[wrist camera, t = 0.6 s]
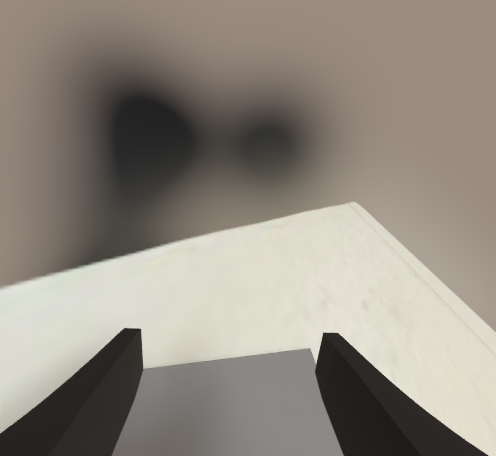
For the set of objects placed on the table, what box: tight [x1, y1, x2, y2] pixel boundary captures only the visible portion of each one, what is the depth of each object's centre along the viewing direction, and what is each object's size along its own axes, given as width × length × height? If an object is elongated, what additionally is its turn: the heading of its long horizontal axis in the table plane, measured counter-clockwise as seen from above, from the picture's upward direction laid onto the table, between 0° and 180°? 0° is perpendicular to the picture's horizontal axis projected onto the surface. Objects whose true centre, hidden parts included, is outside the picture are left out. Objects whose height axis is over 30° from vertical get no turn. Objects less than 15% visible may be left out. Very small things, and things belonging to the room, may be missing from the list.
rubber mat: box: [112, 349, 344, 456], centre depth 24 cm, size 12×24×1 cm, turn 106°
